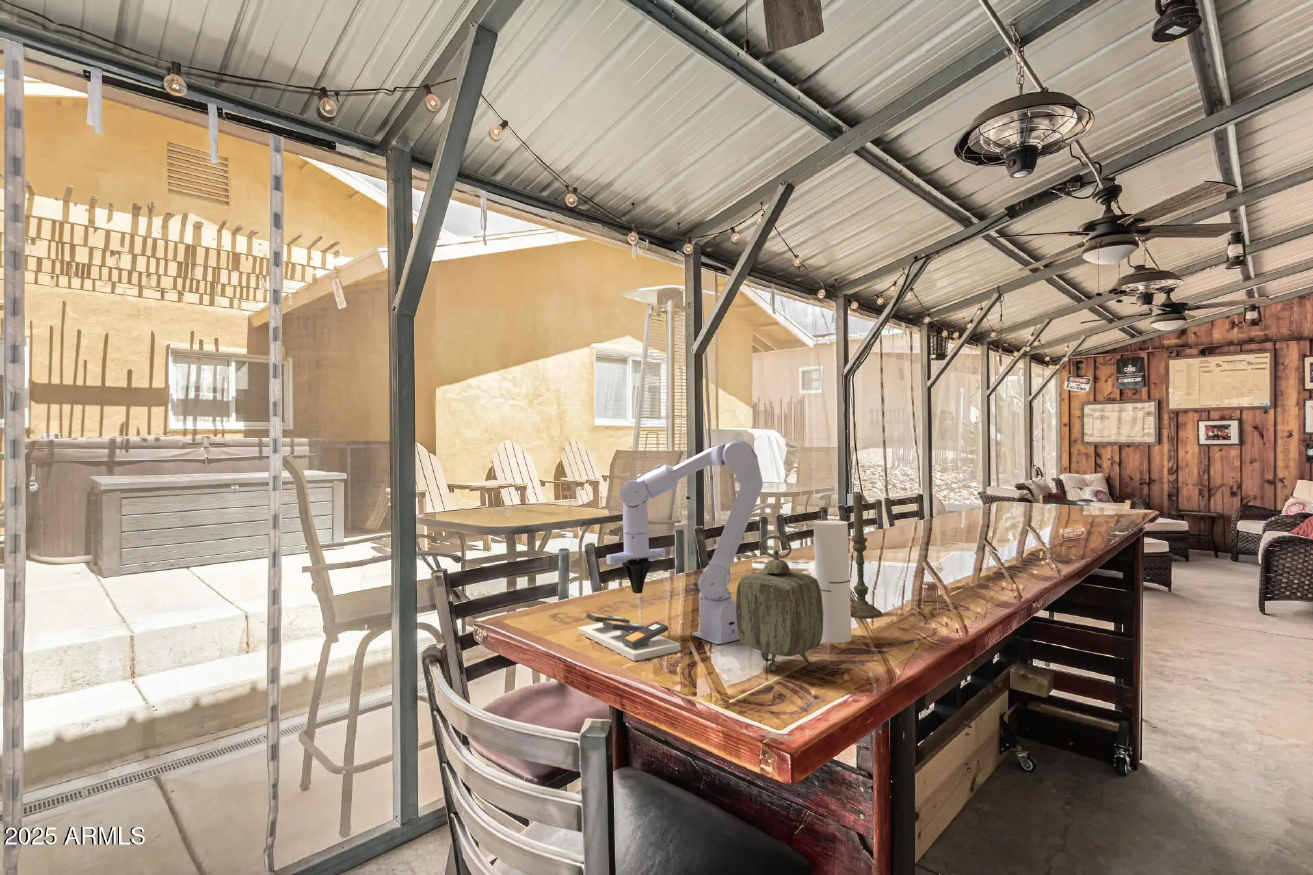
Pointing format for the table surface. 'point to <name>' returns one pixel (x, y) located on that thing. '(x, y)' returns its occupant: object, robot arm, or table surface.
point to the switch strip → (640, 652)
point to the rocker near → (644, 634)
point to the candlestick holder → (860, 565)
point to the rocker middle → (622, 626)
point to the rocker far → (606, 618)
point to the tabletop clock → (779, 610)
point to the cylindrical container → (833, 579)
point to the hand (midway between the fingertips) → (637, 592)
